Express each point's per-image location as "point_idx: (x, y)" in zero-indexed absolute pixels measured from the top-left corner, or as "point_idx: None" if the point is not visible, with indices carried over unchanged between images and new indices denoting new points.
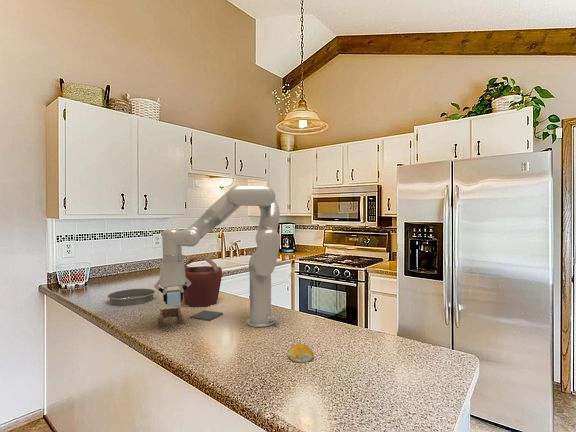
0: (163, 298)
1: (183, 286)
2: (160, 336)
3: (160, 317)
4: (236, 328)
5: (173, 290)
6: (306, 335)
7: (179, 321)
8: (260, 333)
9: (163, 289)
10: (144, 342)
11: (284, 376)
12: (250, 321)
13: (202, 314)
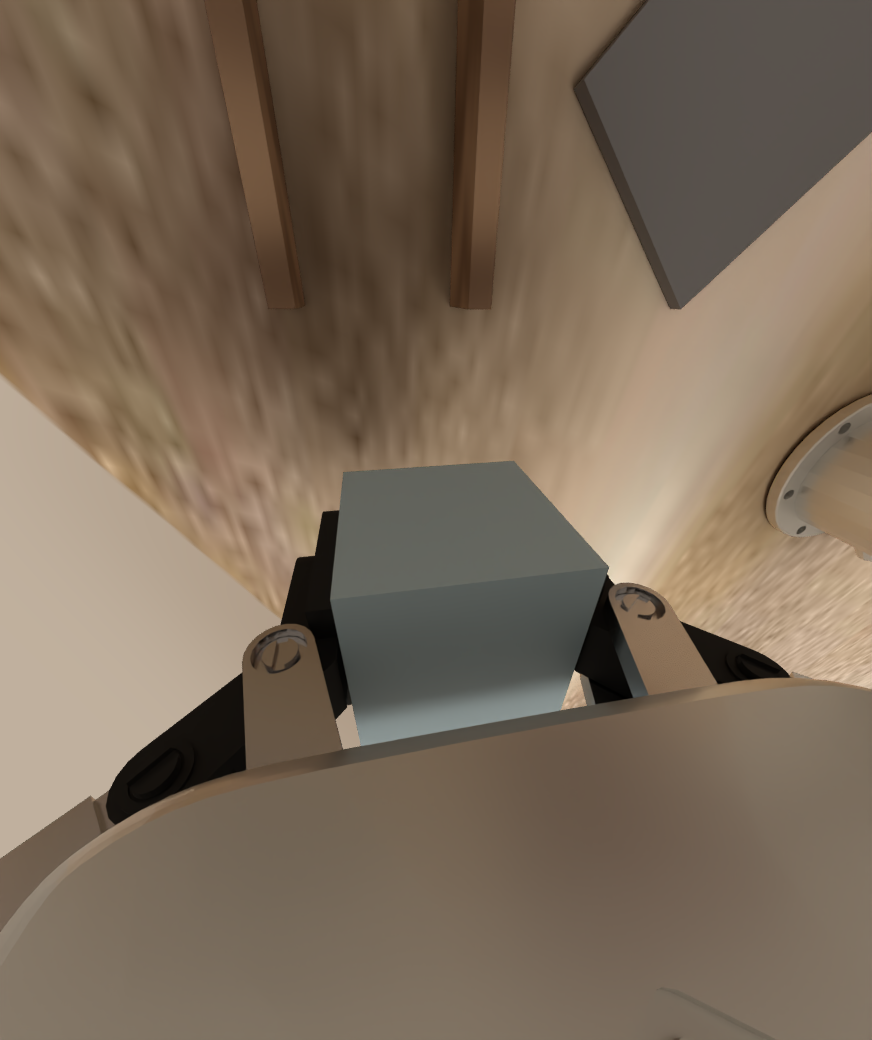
0: (294, 586)
1: (716, 679)
2: (320, 519)
3: (257, 243)
4: (702, 509)
5: (486, 608)
6: (807, 624)
7: (454, 240)
8: (728, 584)
9: (260, 730)
10: (244, 580)
11: None
12: (803, 484)
13: (721, 58)
